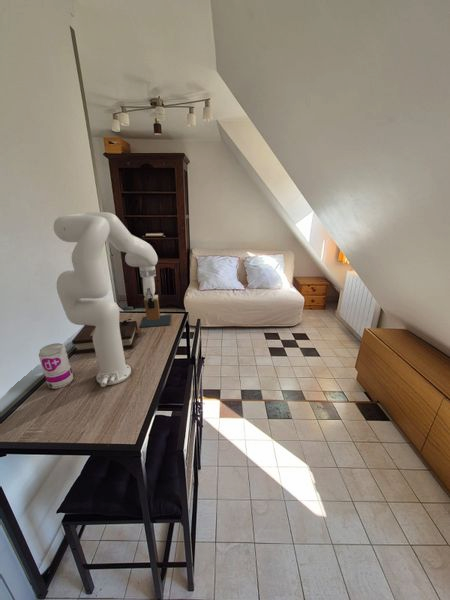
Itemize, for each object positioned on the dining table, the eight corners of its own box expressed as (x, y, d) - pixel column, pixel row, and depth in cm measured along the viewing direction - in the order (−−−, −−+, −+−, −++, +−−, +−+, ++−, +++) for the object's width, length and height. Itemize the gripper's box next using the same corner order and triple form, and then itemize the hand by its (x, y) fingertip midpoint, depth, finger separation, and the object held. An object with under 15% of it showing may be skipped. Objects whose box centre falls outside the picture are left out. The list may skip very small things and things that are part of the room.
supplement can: (68, 388, 92) (58, 353, 86) (43, 391, 90) (32, 355, 85) (77, 374, 99) (68, 341, 94) (54, 377, 98) (44, 343, 93)
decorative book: (80, 322, 127) (141, 318, 132) (83, 336, 130) (143, 330, 135) (64, 341, 109) (135, 334, 114) (68, 356, 112) (137, 349, 117)
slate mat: (169, 325, 141) (169, 324, 140) (140, 327, 138) (140, 326, 138) (170, 315, 154) (170, 314, 153) (143, 317, 151) (143, 316, 151)
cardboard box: (159, 319, 133) (157, 297, 128) (146, 320, 132) (143, 298, 127) (160, 315, 137) (157, 294, 133) (147, 316, 136) (145, 295, 132)
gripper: (142, 269, 133) (146, 301, 139) (137, 277, 117) (142, 313, 124) (157, 268, 134) (160, 300, 141) (154, 276, 119) (158, 311, 125)
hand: (152, 305), depth 132 cm, fingers closed on cardboard box, 5 cm apart
